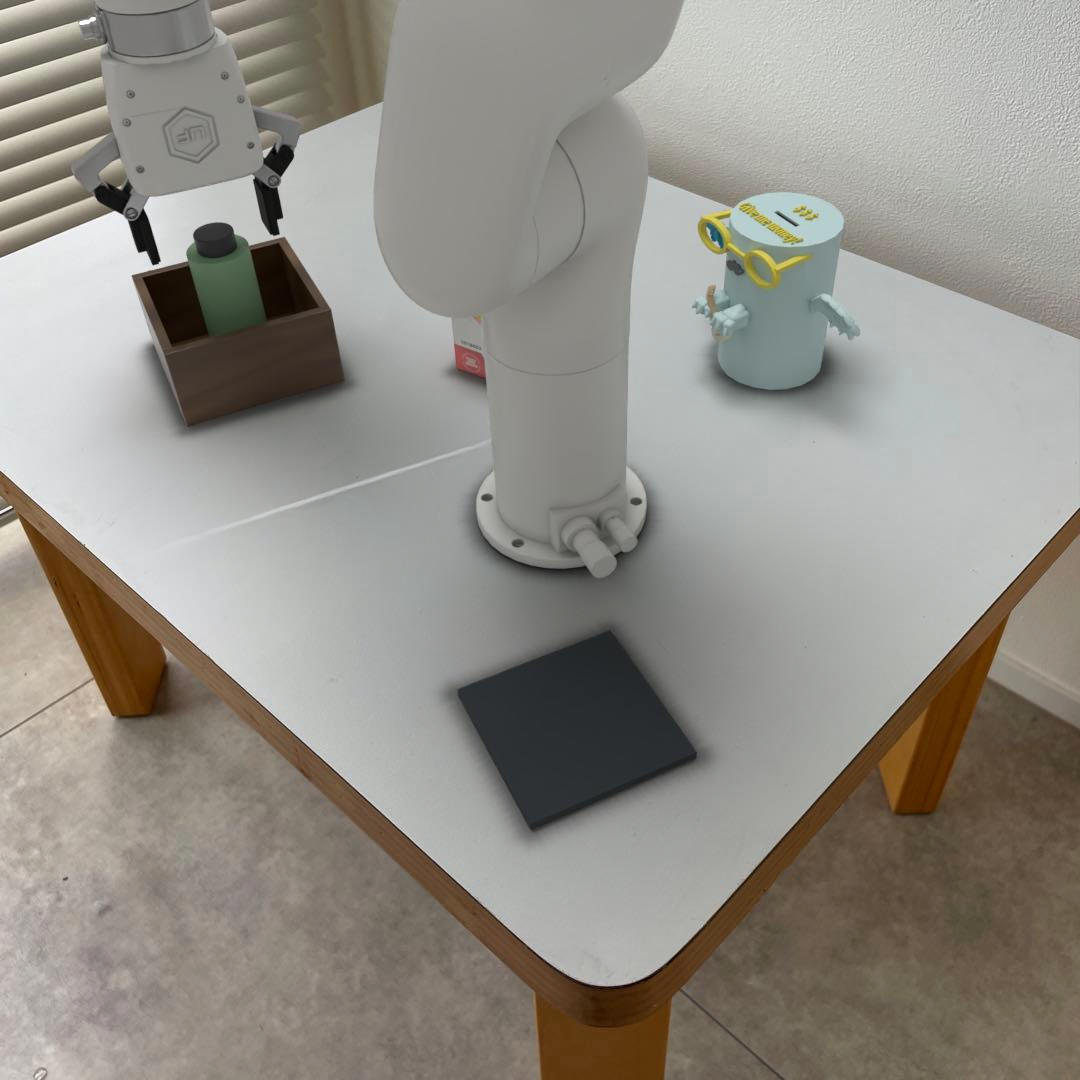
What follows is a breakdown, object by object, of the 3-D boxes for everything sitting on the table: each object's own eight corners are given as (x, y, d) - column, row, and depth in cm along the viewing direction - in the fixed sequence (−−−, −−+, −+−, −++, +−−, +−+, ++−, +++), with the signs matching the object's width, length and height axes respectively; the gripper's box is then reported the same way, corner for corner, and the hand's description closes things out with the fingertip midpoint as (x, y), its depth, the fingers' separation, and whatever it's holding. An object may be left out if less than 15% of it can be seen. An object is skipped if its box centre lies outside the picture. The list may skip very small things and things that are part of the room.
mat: (696, 757, 68) (697, 752, 68) (530, 830, 65) (530, 824, 64) (610, 635, 75) (610, 629, 75) (457, 694, 72) (456, 689, 72)
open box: (345, 383, 97) (331, 309, 92) (188, 430, 93) (164, 355, 88) (299, 308, 106) (284, 236, 101) (154, 347, 102) (131, 274, 97)
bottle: (282, 368, 98) (251, 237, 90) (225, 384, 97) (188, 253, 88) (266, 339, 102) (235, 211, 93) (211, 354, 100) (175, 225, 92)
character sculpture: (636, 329, 102) (640, 188, 92) (741, 292, 105) (755, 153, 96) (774, 449, 89) (794, 300, 79) (888, 403, 92) (920, 255, 83)
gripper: (38, 66, 75) (113, 291, 87) (292, 18, 80) (329, 238, 92) (23, 28, 80) (96, 247, 92) (263, -14, 85) (302, 198, 97)
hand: (213, 242), depth 92 cm, fingers open, 9 cm apart
